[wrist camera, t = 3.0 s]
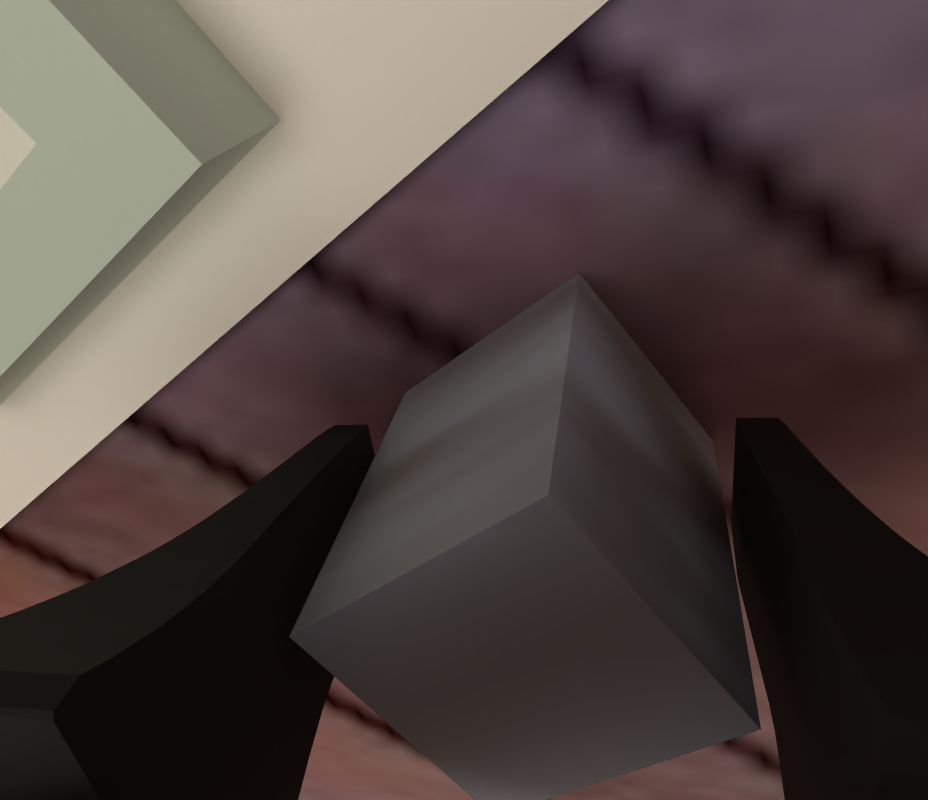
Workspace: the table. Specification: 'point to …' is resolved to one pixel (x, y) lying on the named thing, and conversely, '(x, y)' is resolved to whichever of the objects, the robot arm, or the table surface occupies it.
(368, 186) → the board with square socket
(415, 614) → the post
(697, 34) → the table surface
